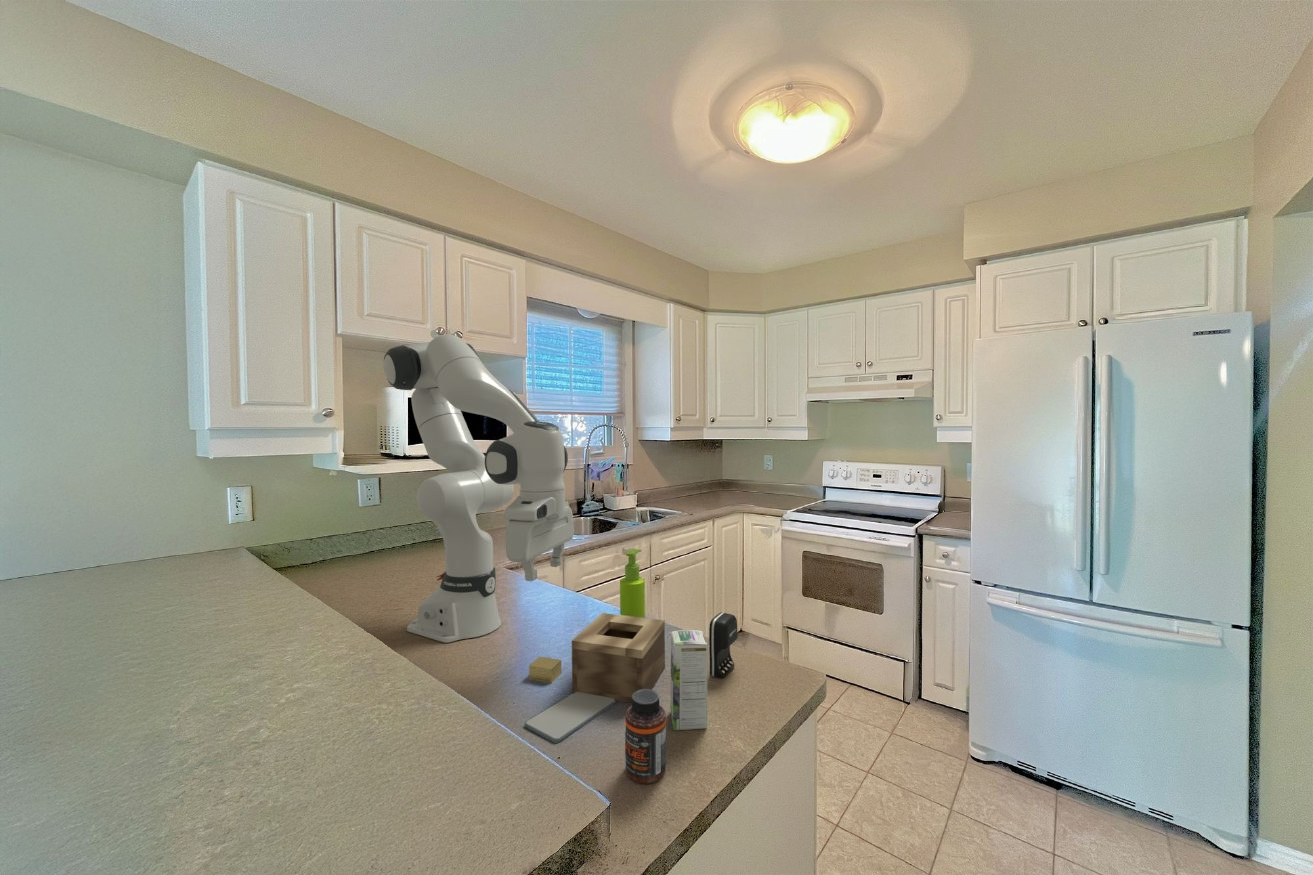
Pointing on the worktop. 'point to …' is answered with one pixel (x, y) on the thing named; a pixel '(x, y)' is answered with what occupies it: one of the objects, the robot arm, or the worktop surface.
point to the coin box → (618, 656)
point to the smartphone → (568, 715)
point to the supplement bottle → (645, 737)
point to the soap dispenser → (632, 589)
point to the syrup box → (689, 679)
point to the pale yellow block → (545, 669)
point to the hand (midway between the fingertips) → (544, 572)
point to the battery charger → (721, 644)
